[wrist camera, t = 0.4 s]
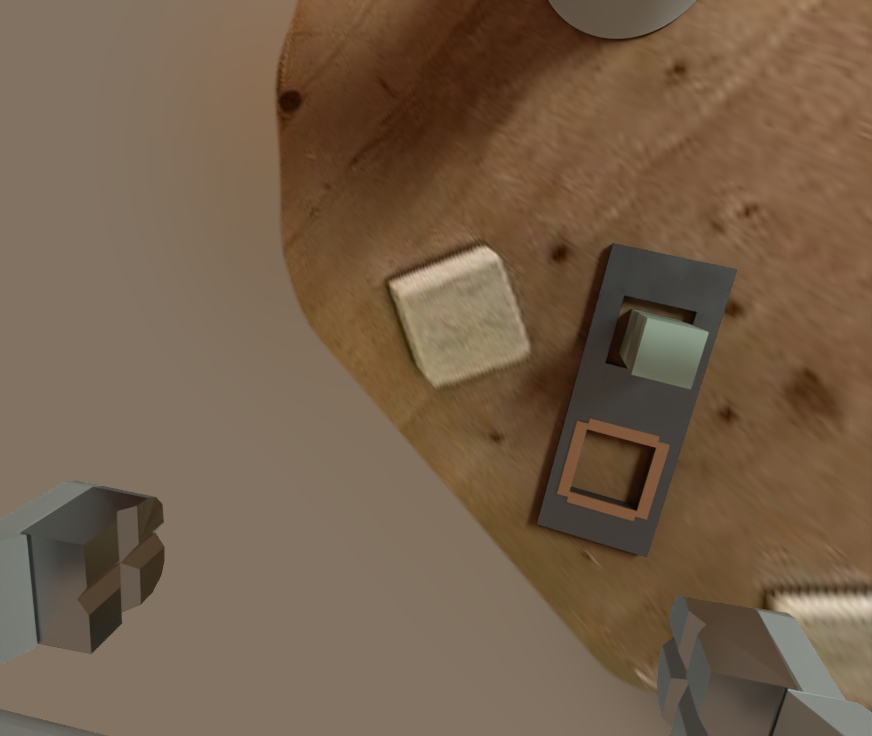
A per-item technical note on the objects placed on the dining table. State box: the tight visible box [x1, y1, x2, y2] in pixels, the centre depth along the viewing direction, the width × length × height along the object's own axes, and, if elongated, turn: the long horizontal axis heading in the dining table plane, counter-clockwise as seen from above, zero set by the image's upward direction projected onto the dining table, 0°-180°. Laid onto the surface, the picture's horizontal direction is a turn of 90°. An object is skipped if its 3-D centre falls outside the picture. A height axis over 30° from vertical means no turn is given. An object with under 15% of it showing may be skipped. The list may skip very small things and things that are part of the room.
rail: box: [537, 243, 737, 557], centre depth 53 cm, size 26×10×2 cm, turn 168°
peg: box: [619, 309, 709, 389], centre depth 47 cm, size 4×4×12 cm
